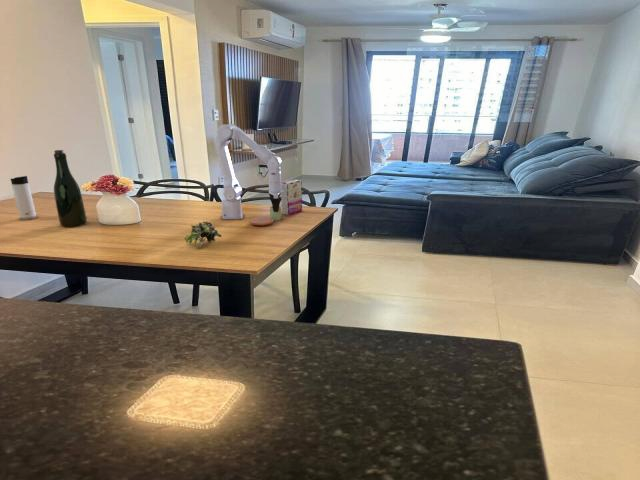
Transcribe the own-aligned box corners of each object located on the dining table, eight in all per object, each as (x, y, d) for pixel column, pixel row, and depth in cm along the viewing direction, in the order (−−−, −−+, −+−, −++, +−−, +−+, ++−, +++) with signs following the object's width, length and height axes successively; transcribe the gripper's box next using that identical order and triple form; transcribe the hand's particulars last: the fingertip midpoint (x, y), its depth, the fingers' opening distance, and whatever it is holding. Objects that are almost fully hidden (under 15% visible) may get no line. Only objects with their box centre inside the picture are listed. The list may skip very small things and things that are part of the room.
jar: (270, 221, 183) (270, 208, 181) (270, 218, 188) (269, 206, 186) (281, 220, 184) (281, 208, 182) (280, 217, 189) (280, 206, 187)
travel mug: (31, 220, 178) (20, 177, 171) (17, 219, 178) (6, 177, 171) (40, 216, 184) (30, 175, 177) (27, 216, 184) (16, 174, 177)
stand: (249, 227, 172) (249, 223, 172) (249, 220, 182) (249, 217, 182) (273, 226, 174) (273, 223, 173) (272, 220, 184) (272, 216, 184)
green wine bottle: (57, 224, 172) (41, 149, 162) (83, 219, 180) (69, 148, 169) (63, 229, 165) (47, 152, 155) (90, 224, 173) (76, 150, 162)
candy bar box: (295, 209, 204) (295, 179, 199) (302, 211, 201) (302, 180, 196) (281, 213, 196) (280, 182, 190) (288, 215, 193) (287, 183, 187)
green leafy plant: (210, 254, 155) (226, 231, 153) (200, 259, 144) (217, 234, 142) (187, 238, 154) (203, 214, 152) (175, 242, 144) (193, 216, 142)
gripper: (284, 184, 174) (284, 213, 178) (282, 179, 187) (282, 206, 192) (268, 184, 172) (269, 213, 177) (267, 179, 186) (268, 206, 190)
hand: (275, 209), depth 184 cm, fingers open, 7 cm apart
